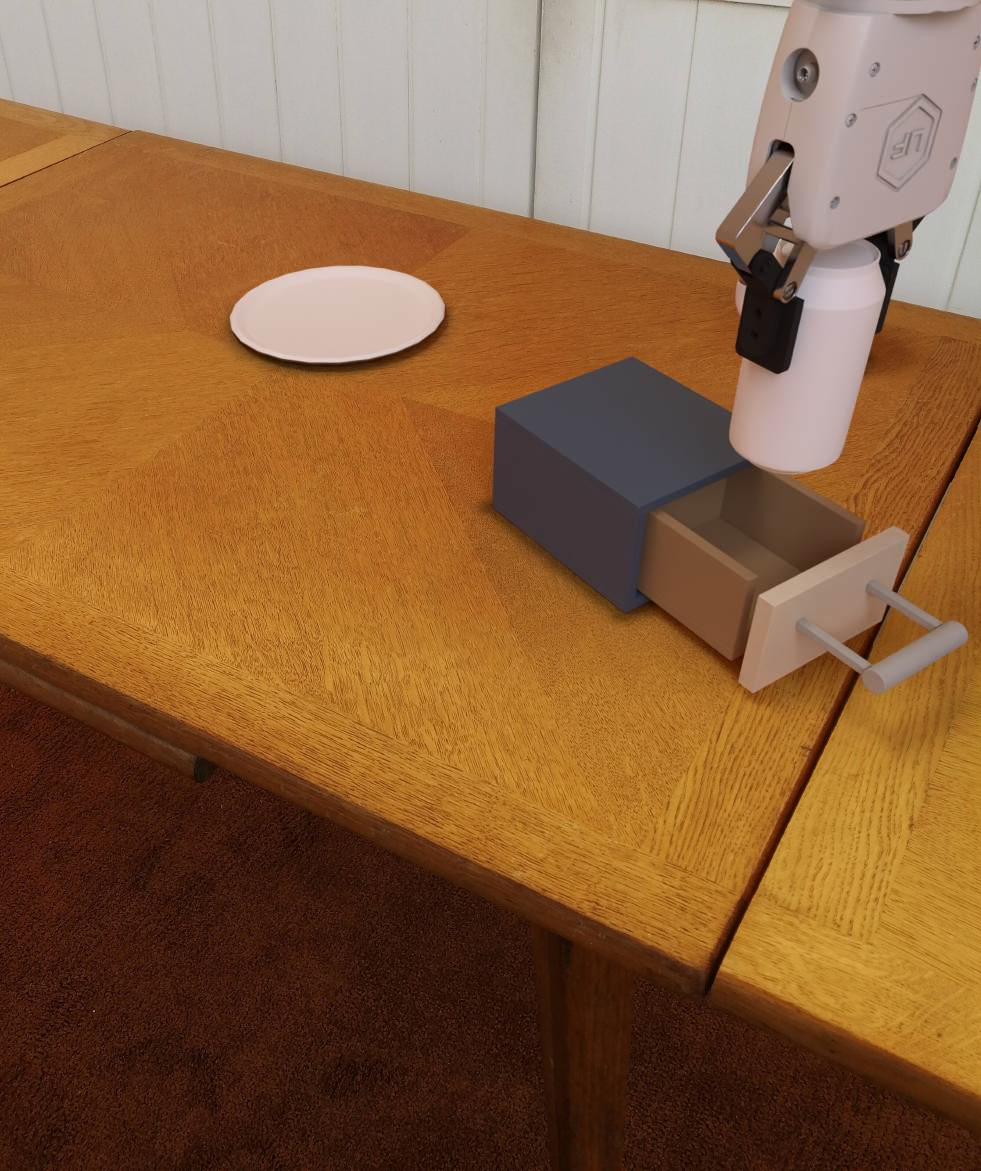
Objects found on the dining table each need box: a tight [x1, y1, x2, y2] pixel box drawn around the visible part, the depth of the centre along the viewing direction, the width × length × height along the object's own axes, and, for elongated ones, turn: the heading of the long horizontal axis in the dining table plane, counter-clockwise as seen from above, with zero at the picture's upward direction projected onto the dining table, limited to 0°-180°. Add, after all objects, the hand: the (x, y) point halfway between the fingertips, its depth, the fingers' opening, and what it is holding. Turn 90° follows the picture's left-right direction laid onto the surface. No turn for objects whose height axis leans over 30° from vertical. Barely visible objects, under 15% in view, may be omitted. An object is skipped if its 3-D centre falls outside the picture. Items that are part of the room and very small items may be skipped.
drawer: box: [637, 465, 969, 696], centre depth 66 cm, size 20×11×7 cm, turn 32°
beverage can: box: [729, 239, 886, 475], centre depth 58 cm, size 6×6×12 cm
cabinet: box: [492, 356, 754, 614], centre depth 75 cm, size 15×13×9 cm
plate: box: [229, 265, 446, 366], centre depth 105 cm, size 21×21×1 cm
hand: (808, 341), depth 57 cm, fingers closed on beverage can, 6 cm apart
